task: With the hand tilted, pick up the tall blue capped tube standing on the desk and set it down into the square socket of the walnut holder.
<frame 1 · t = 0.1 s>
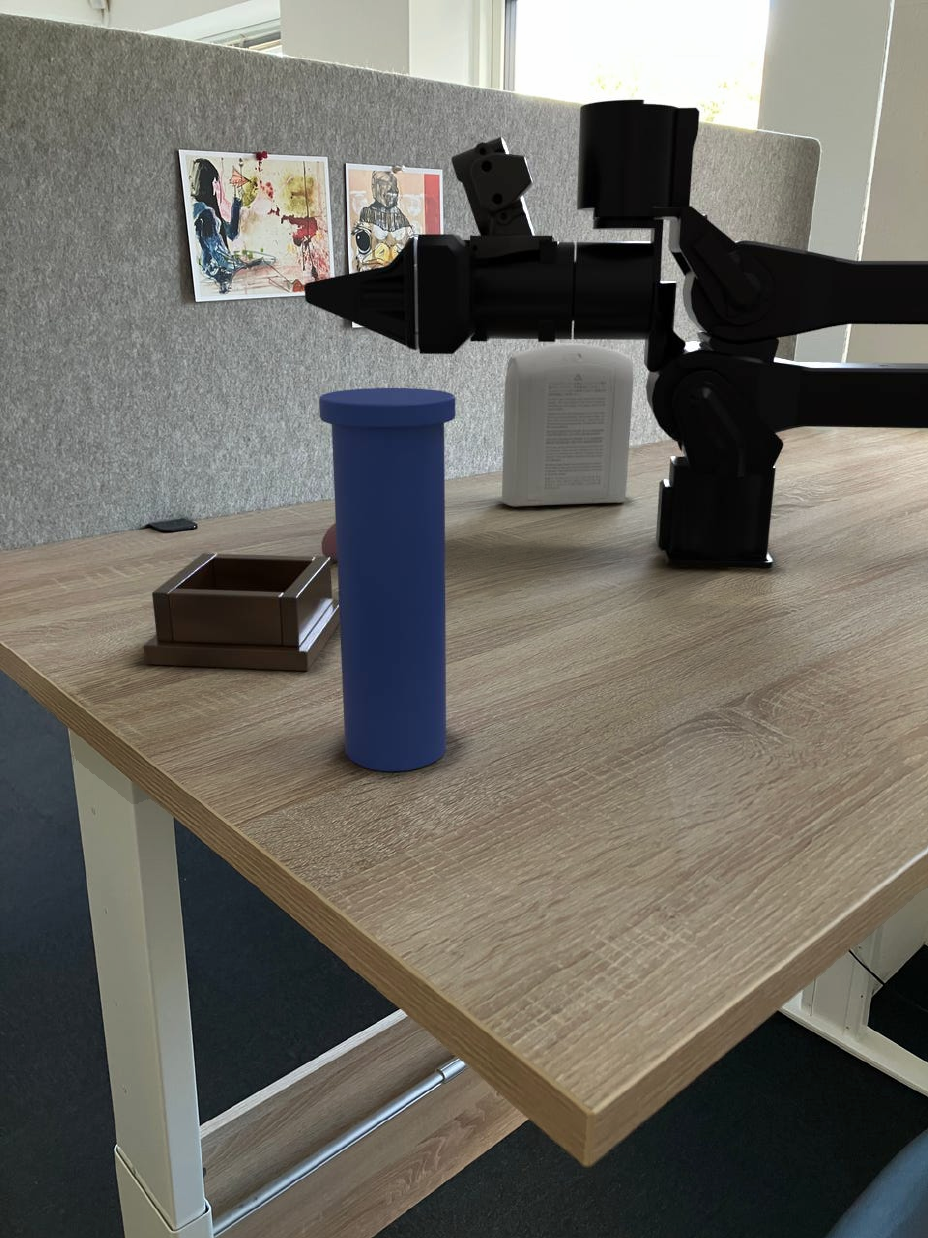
hand: (323, 290, 64), 17 cm above the table, tool horizontal, fingers open, 9 cm apart
holder: (250, 639, 52), on the table
pink shoe: (383, 549, 69), on the table
photo printer: (564, 504, 82), on the table
blue capped tube: (395, 748, 41), on the table
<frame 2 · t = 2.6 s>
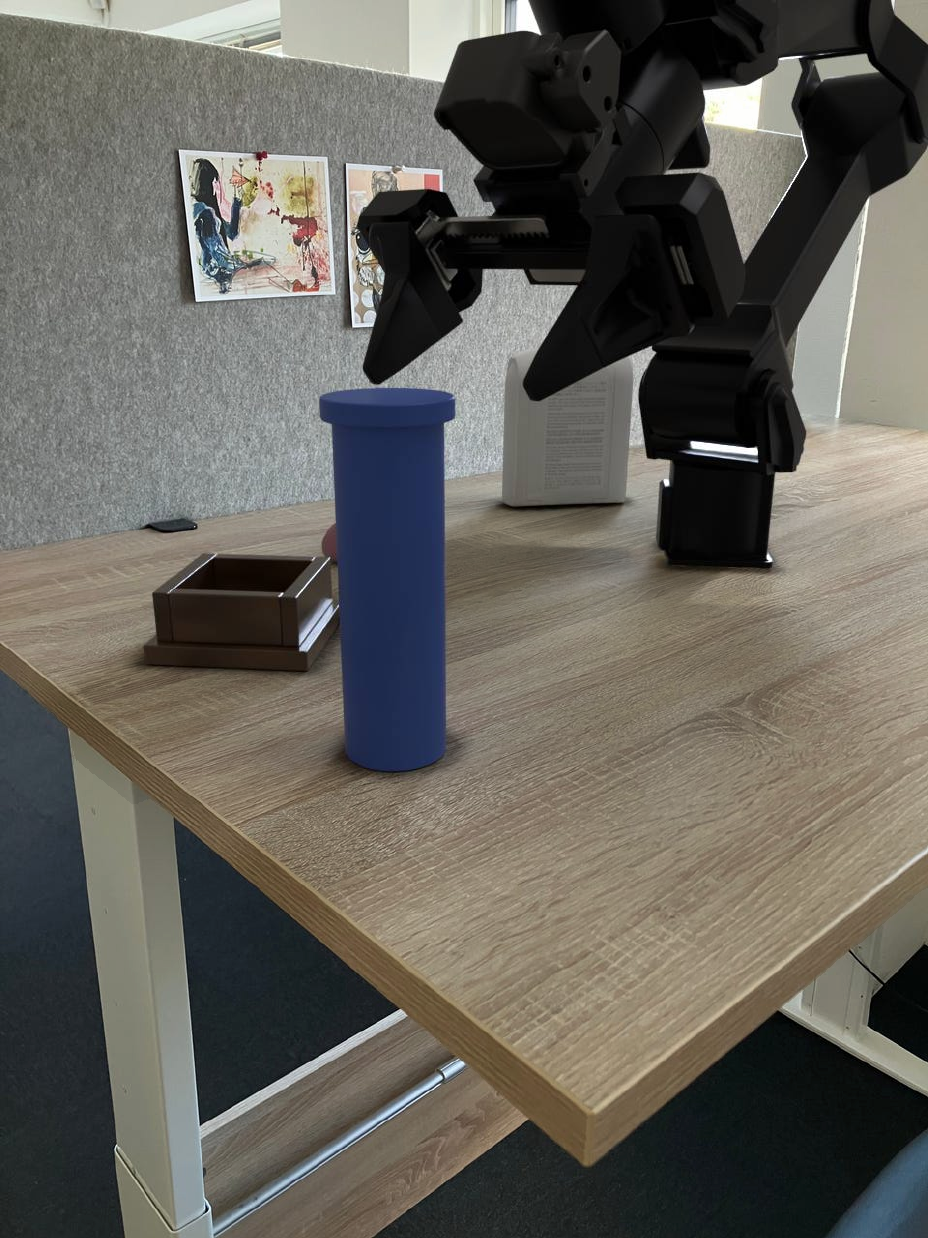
hand: (444, 384, 44), 13 cm above the table, tool tilted 50°, fingers open, 9 cm apart
nothing on the table moved.
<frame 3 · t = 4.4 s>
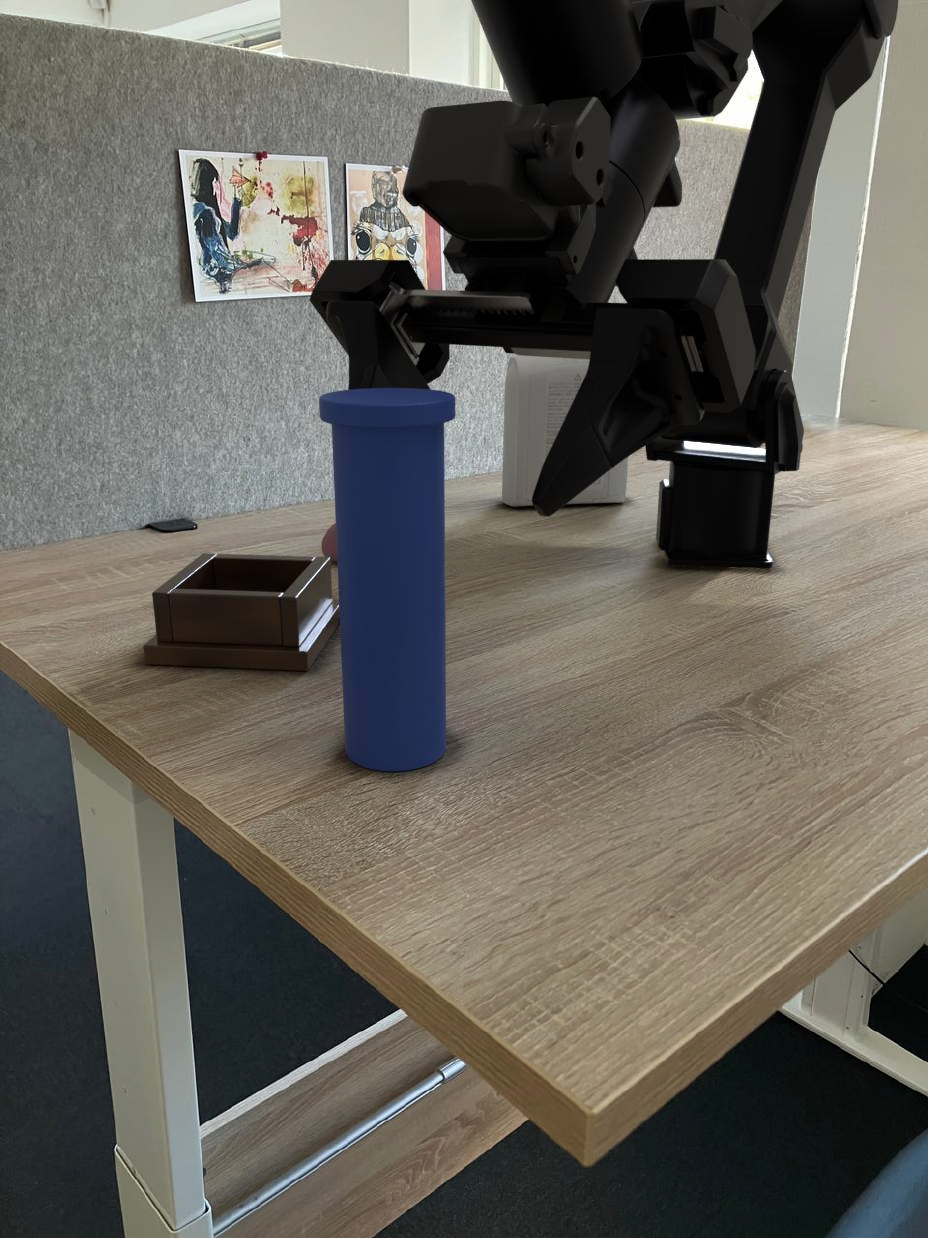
hand: (437, 494, 40), 10 cm above the table, tool tilted 45°, fingers open, 9 cm apart
nothing on the table moved.
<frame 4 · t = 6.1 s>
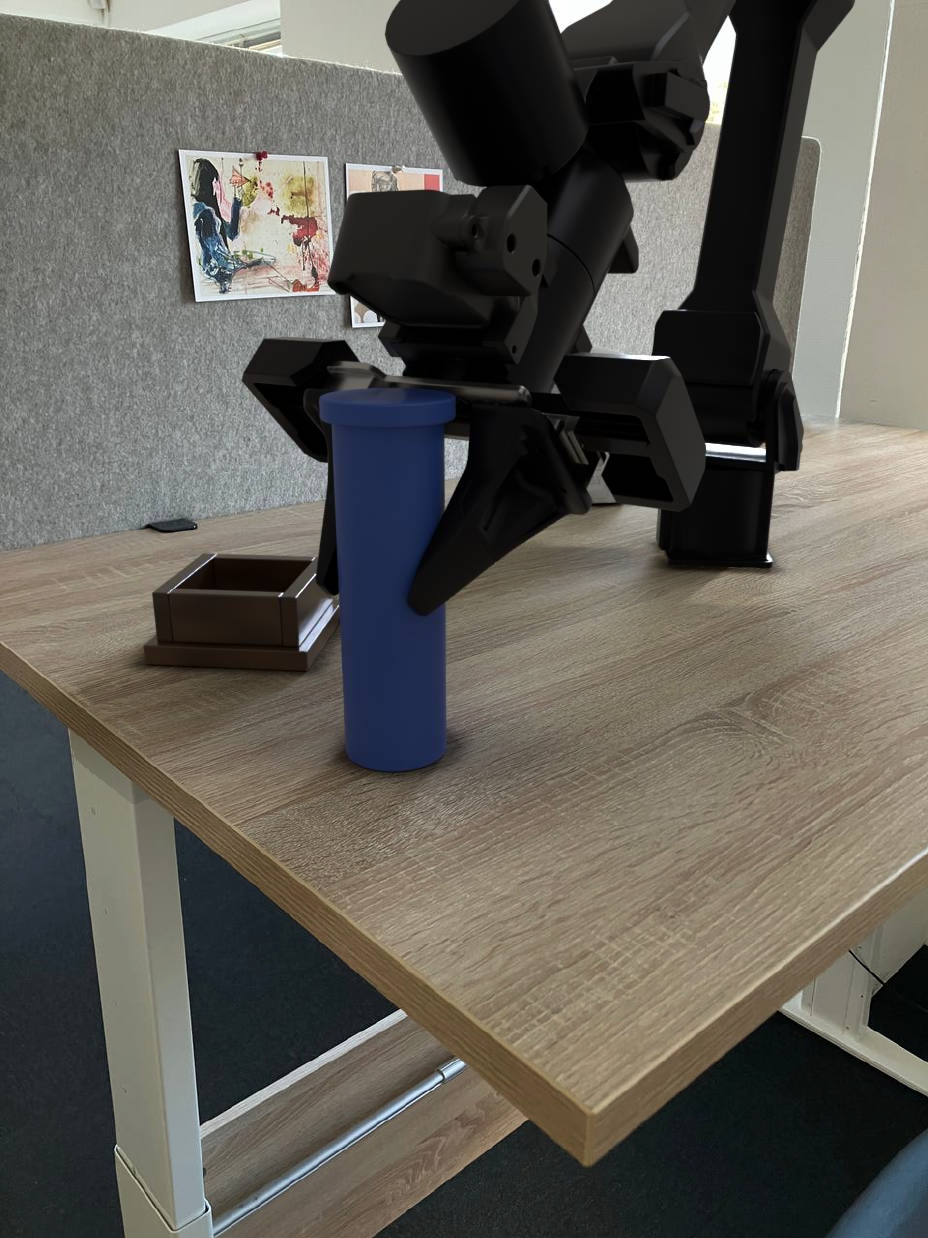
hand: (368, 600, 37), 7 cm above the table, tool tilted 45°, fingers closed on blue capped tube, 4 cm apart
blue capped tube: (396, 748, 41), on the table, touching gripper
everything else where it was.
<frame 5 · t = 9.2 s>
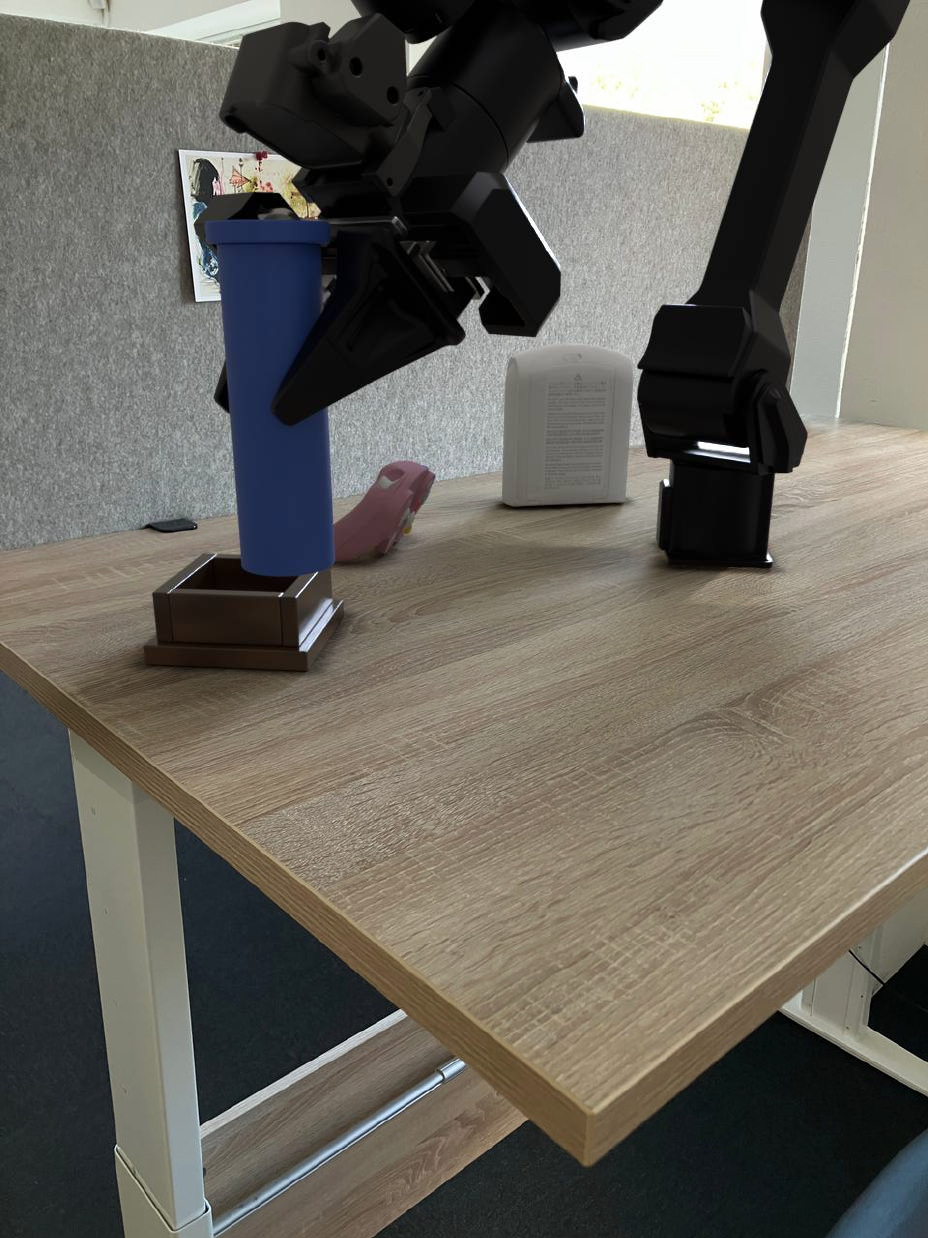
hand: (249, 413, 41), 12 cm above the table, tool tilted 45°, fingers closed on blue capped tube, 4 cm apart
blue capped tube: (288, 563, 44), point 6 cm above the table, touching gripper
everything else where it was.
when the fingers open (8 cm above the table, at t = 12.2 s): blue capped tube stays where it is, resting on holder.
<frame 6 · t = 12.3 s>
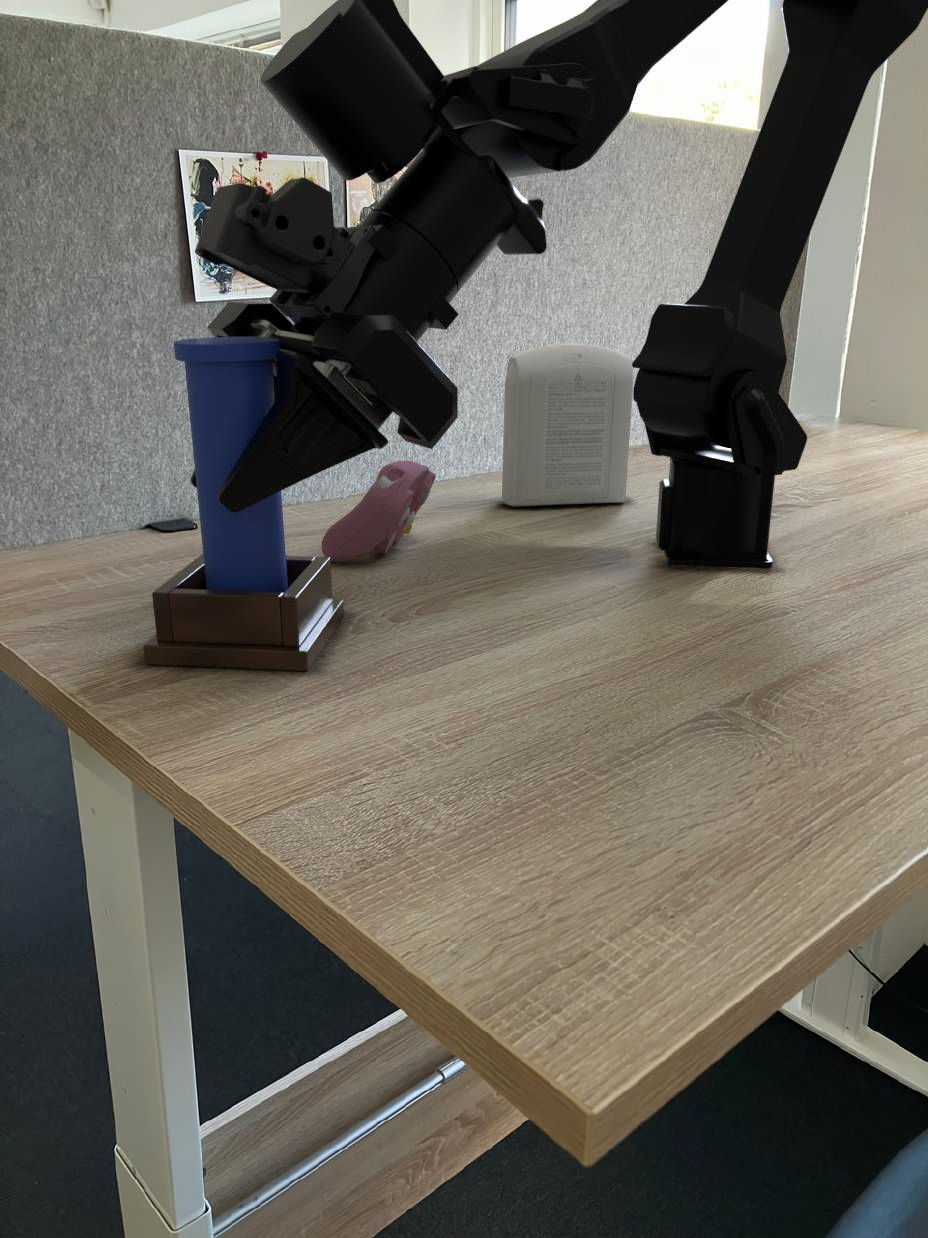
hand: (210, 497, 49), 8 cm above the table, tool tilted 45°, fingers open, 4 cm apart
blue capped tube: (250, 620, 52), point 1 cm above the table, touching holder
everything else where it was.
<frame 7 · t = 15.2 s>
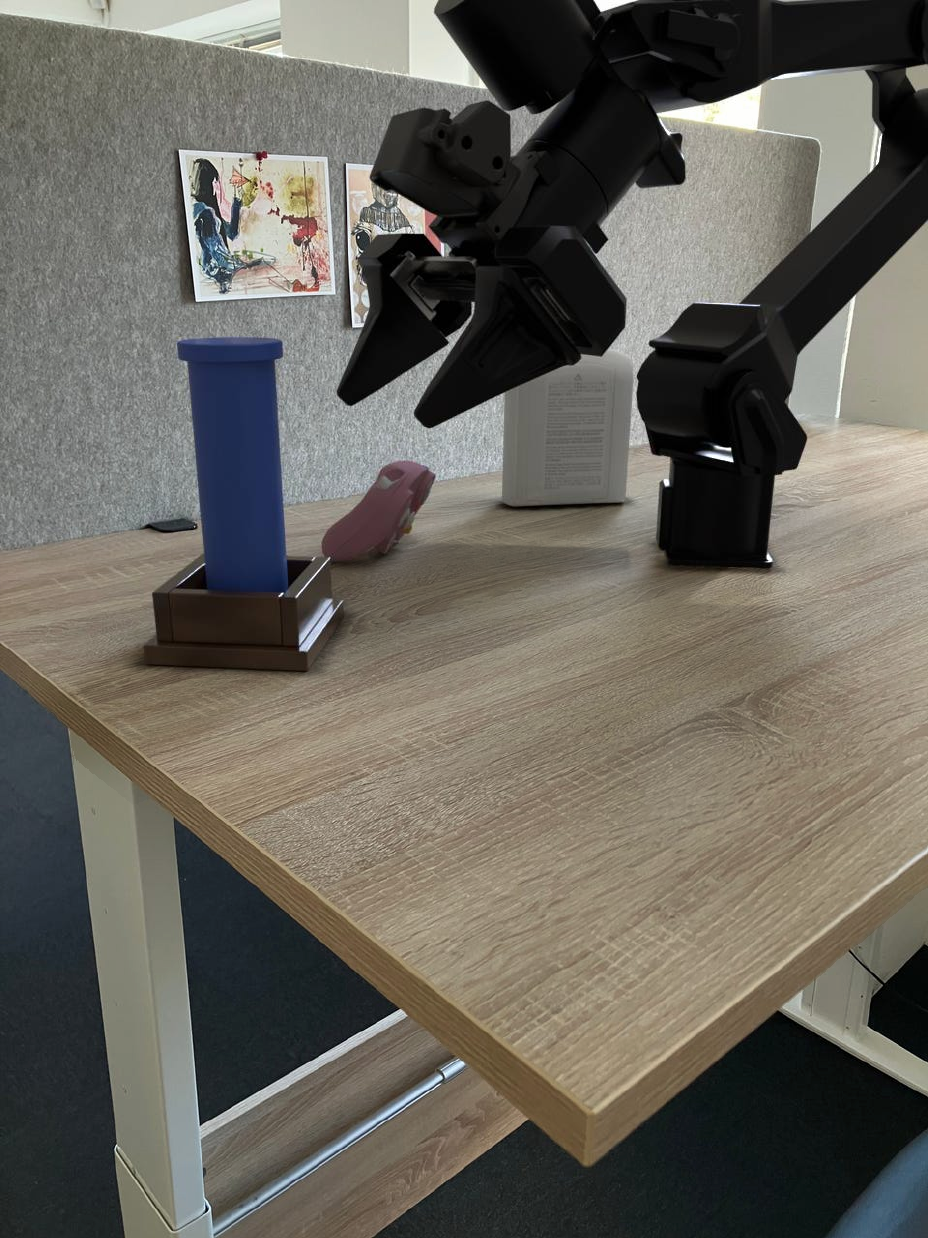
hand: (378, 410, 52), 11 cm above the table, tool tilted 45°, fingers open, 9 cm apart
nothing on the table moved.
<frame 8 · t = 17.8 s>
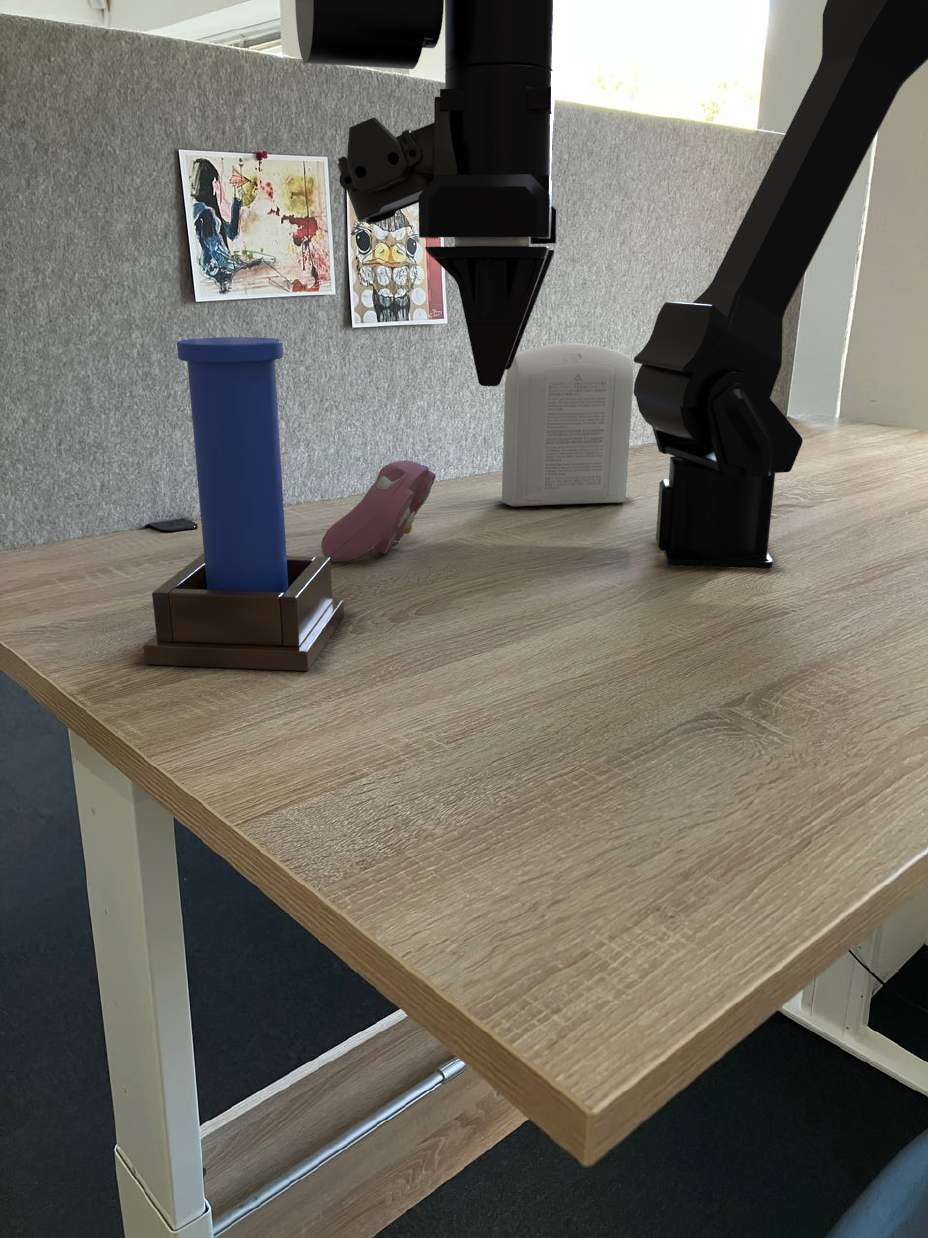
hand: (495, 376, 59), 12 cm above the table, tool pointing down, fingers open, 9 cm apart
nothing on the table moved.
at the end: blue capped tube 0.0 cm off-centre on the holder, point 1.0 cm above the holder's base; blue capped tube tilted 0°; the gripper is holding nothing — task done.
